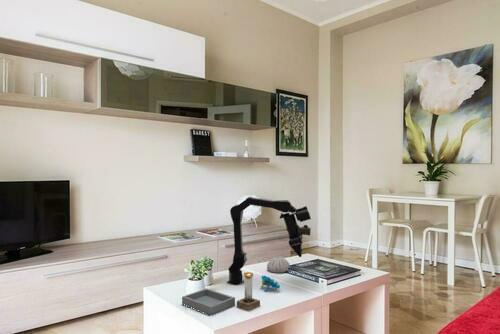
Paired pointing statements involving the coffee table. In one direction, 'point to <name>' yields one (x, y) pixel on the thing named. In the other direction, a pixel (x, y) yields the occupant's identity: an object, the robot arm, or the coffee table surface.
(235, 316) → the coffee table surface
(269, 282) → the blue irregular piece
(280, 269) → the sea urchin shell
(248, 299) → the grey tall cylinder
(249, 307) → the socket block
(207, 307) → the tray
